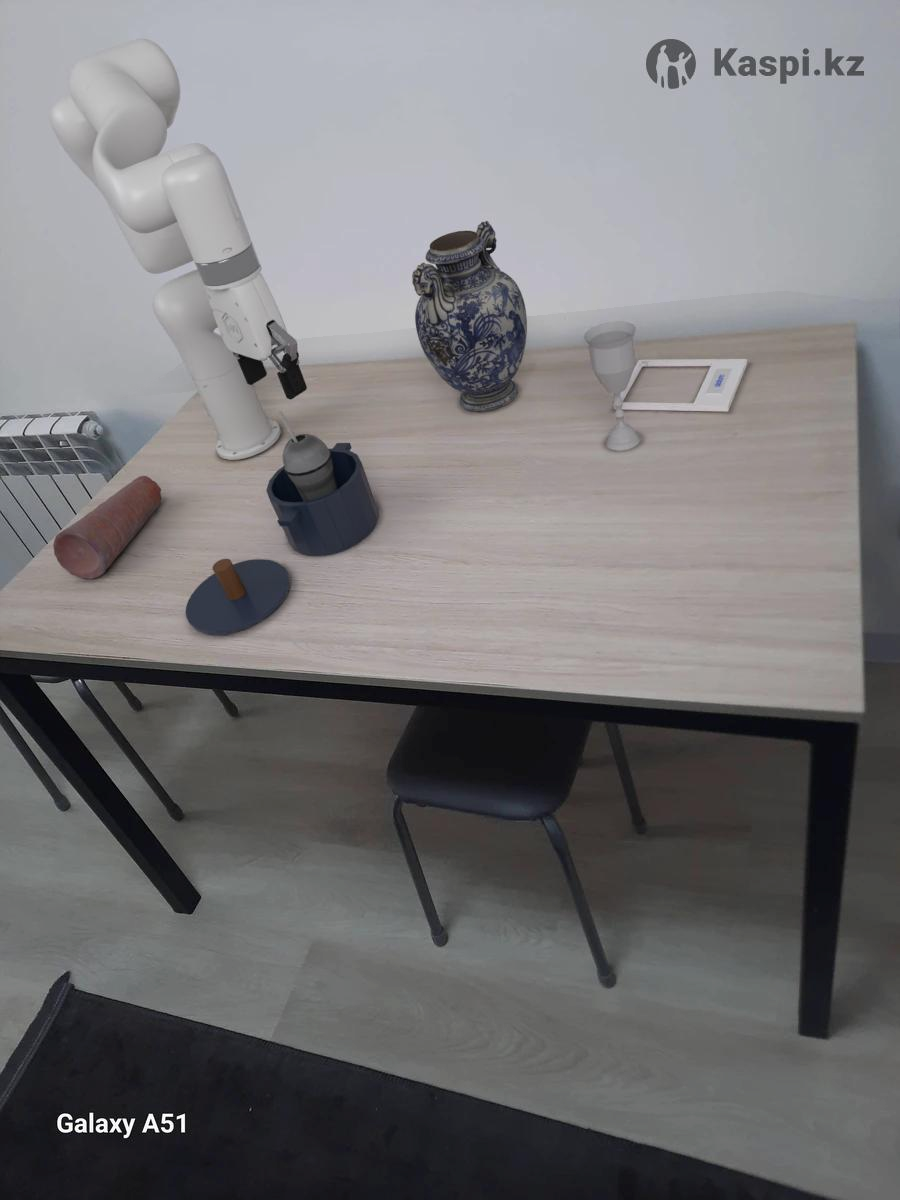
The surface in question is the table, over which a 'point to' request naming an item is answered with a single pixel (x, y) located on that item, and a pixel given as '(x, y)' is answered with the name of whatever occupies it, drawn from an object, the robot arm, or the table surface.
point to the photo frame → (712, 392)
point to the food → (106, 529)
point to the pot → (327, 508)
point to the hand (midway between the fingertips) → (277, 387)
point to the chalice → (614, 372)
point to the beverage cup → (308, 465)
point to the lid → (237, 595)
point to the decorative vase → (471, 318)
